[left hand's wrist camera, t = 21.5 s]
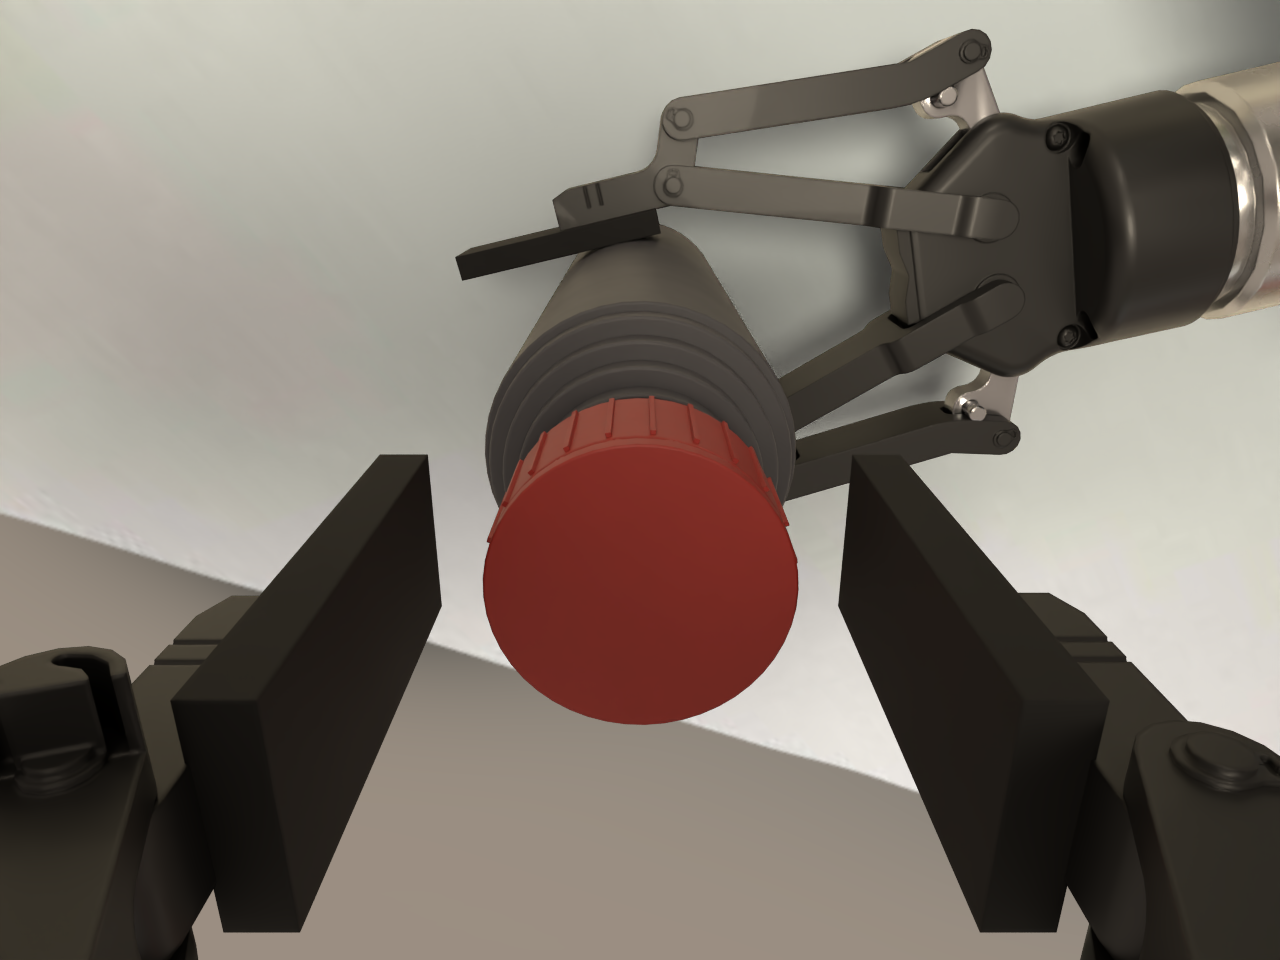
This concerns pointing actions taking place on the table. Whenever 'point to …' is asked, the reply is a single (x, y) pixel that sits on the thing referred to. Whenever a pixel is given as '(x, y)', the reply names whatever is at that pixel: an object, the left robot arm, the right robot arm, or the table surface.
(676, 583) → the cap
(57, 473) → the table surface
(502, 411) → the bottle
